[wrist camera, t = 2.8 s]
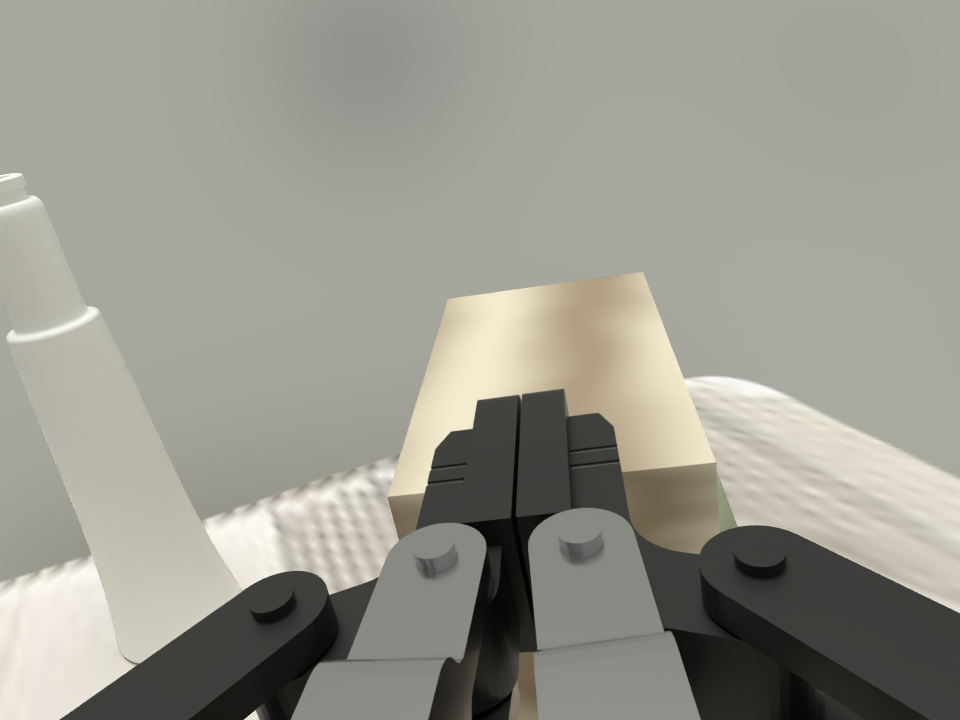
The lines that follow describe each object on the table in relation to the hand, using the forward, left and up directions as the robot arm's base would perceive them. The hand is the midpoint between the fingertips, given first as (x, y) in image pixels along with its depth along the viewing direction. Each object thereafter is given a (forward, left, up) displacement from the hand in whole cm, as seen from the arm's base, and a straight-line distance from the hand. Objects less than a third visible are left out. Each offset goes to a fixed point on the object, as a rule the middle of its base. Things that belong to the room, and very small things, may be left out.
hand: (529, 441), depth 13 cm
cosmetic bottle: (-20, +16, -18) cm, 31 cm away
